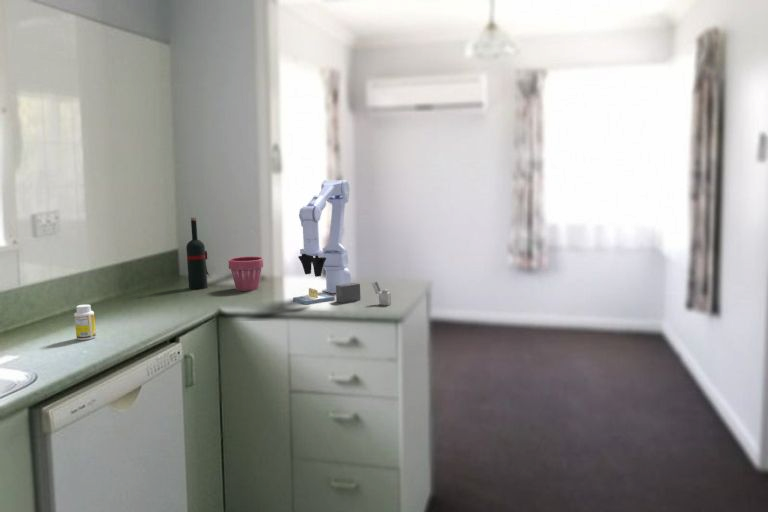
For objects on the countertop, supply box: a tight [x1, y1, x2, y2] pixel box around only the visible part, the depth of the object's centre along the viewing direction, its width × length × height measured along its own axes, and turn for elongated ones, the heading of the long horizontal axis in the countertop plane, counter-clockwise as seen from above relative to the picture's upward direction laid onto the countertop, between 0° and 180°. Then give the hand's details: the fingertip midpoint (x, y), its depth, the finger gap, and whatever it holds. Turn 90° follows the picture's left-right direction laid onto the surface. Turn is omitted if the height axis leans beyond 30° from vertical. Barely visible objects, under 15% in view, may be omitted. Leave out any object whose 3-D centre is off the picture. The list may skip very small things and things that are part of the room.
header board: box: [292, 287, 335, 306], centre depth 264 cm, size 12×10×4 cm
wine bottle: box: [185, 216, 210, 291], centre depth 300 cm, size 8×10×30 cm
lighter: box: [371, 280, 392, 306], centre depth 253 cm, size 7×2×8 cm, turn 54°
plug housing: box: [335, 282, 362, 304], centre depth 261 cm, size 4×8×6 cm, turn 126°
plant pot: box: [228, 256, 264, 292], centre depth 293 cm, size 14×14×13 cm
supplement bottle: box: [74, 304, 97, 341], centre depth 216 cm, size 6×6×10 cm
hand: (312, 275), depth 262 cm, fingers open, 7 cm apart
